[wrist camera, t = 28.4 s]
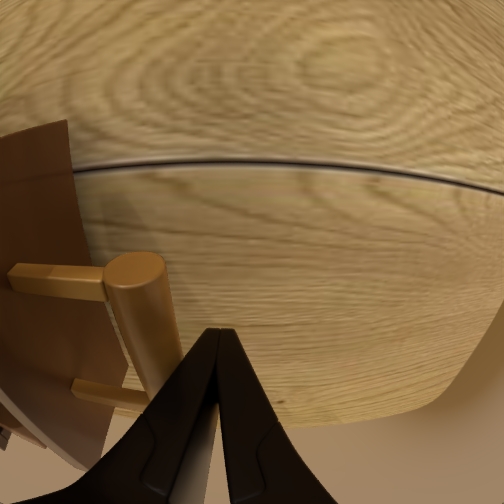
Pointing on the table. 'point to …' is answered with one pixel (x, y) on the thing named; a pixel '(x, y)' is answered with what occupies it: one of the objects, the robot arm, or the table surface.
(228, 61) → the table surface
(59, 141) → the drawer
